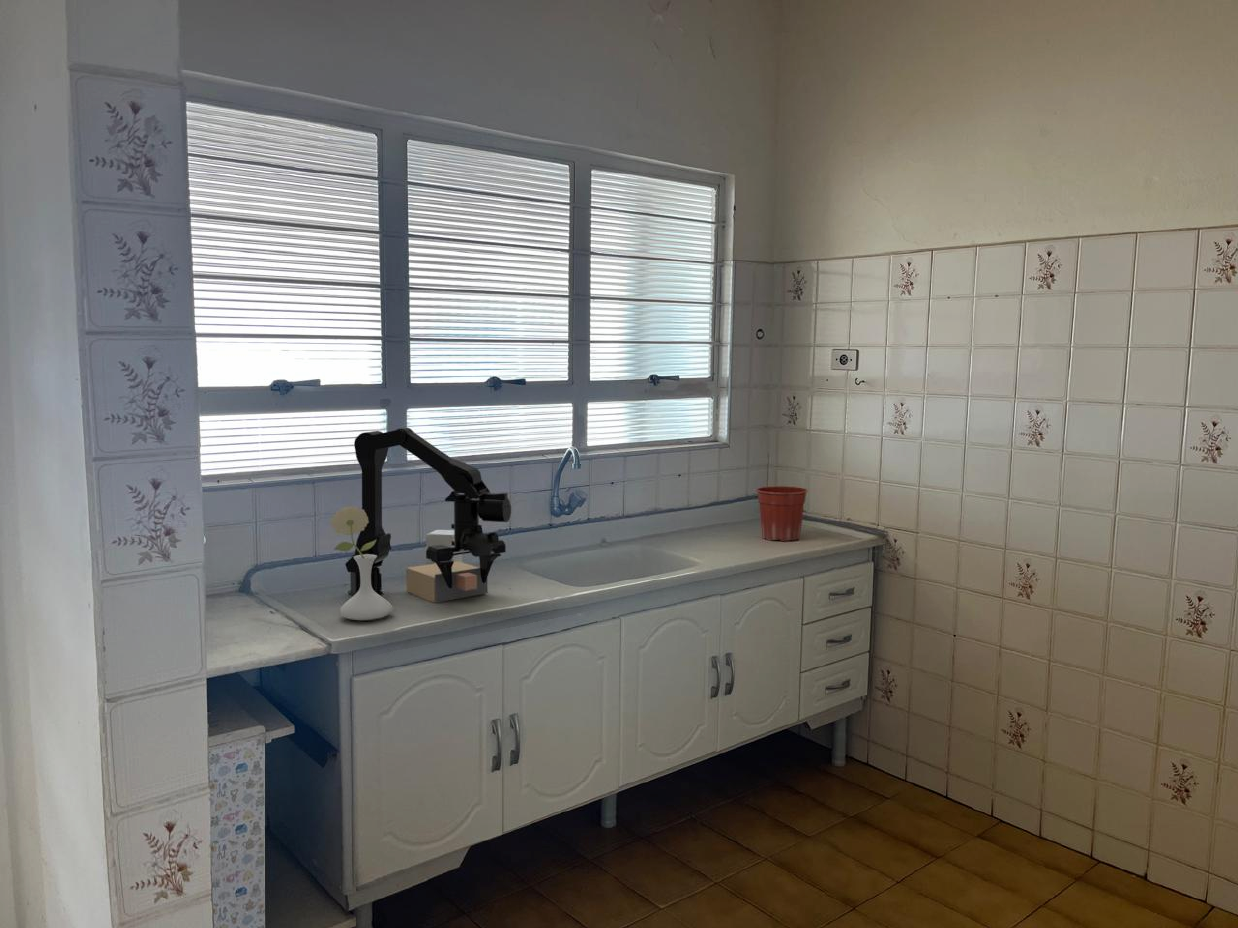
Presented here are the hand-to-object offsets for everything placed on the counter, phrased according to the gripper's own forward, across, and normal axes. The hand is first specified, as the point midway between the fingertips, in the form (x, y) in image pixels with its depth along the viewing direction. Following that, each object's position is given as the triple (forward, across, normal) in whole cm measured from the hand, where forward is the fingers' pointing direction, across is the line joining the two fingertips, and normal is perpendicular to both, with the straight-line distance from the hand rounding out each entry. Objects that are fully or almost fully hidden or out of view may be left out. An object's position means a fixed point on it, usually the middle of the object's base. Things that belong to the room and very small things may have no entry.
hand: (467, 585), depth 229 cm
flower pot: (+4, +122, +8) cm, 122 cm away
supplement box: (+4, +7, +23) cm, 24 cm away
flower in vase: (+4, -26, +1) cm, 26 cm away
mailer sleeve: (+4, 0, +10) cm, 11 cm away
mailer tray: (+3, 0, +8) cm, 8 cm away
